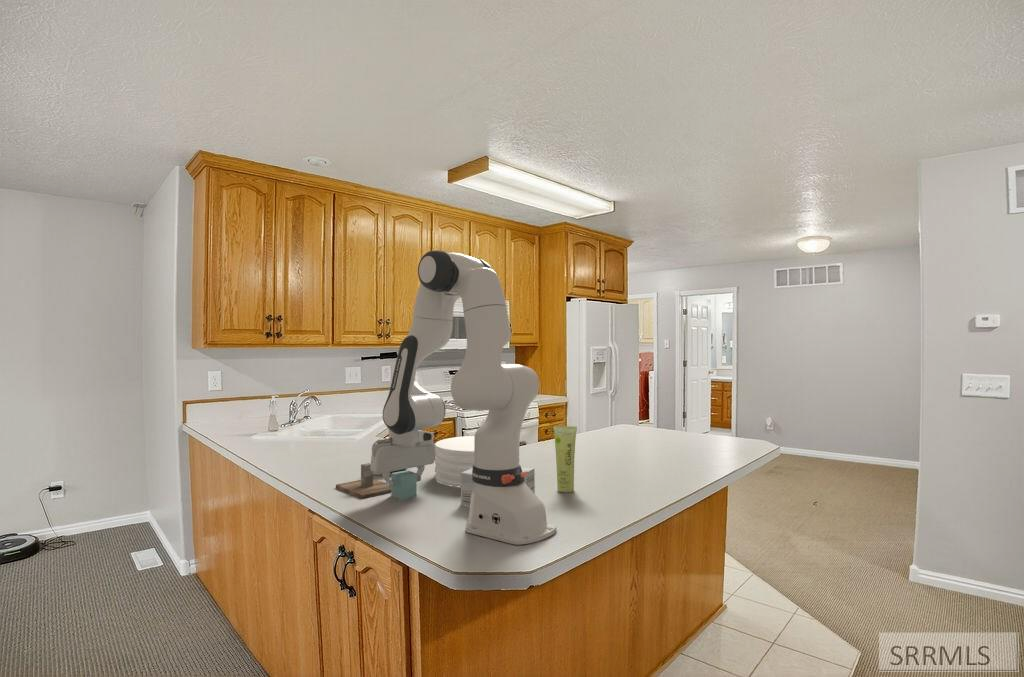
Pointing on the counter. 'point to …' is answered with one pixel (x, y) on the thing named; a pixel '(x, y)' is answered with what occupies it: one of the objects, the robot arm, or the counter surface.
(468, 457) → the plate stack
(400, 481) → the teal rectangular block
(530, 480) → the supplement box
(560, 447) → the tube
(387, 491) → the post stand
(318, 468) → the counter surface
